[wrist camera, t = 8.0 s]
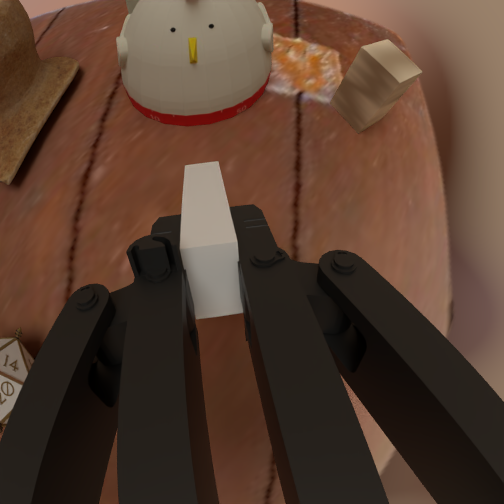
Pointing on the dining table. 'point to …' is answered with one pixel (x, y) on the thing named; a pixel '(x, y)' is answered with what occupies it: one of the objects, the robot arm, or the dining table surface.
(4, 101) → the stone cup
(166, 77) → the kitchen timer
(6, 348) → the game die
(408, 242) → the dining table surface
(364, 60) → the birch block
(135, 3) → the sage block
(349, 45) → the dining table surface
